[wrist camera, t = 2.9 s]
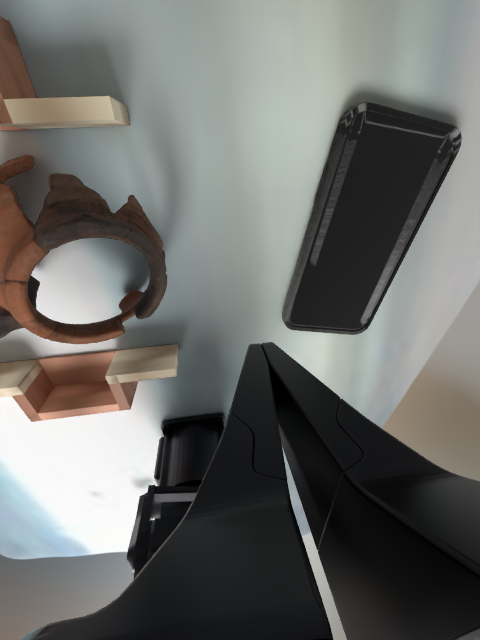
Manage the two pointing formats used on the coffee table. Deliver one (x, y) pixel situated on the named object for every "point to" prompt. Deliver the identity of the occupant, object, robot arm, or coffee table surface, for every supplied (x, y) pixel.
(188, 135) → the coffee table surface
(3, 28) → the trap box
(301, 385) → the robot arm
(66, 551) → the coffee table surface
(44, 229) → the pottery mug
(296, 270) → the phone
